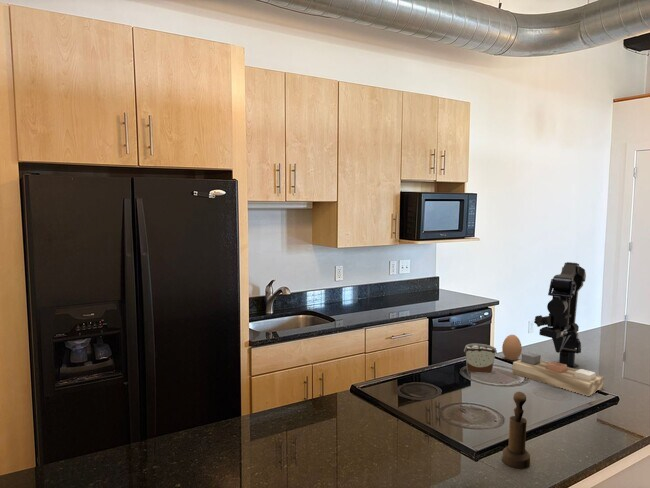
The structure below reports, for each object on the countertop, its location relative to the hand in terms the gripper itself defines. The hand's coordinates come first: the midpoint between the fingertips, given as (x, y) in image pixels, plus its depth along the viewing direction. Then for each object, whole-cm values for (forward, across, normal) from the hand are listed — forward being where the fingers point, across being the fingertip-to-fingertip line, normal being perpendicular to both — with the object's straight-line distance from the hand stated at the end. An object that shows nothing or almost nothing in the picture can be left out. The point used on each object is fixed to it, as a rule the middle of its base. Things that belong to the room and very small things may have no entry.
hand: (557, 352), depth 180 cm
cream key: (+8, 0, +10) cm, 13 cm away
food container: (+11, +14, -24) cm, 30 cm away
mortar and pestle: (+11, +66, +21) cm, 70 cm away
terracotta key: (+7, 0, 0) cm, 7 cm away
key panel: (+11, 0, 0) cm, 11 cm away
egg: (+11, -9, -23) cm, 27 cm away
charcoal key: (+6, 0, -10) cm, 12 cm away
